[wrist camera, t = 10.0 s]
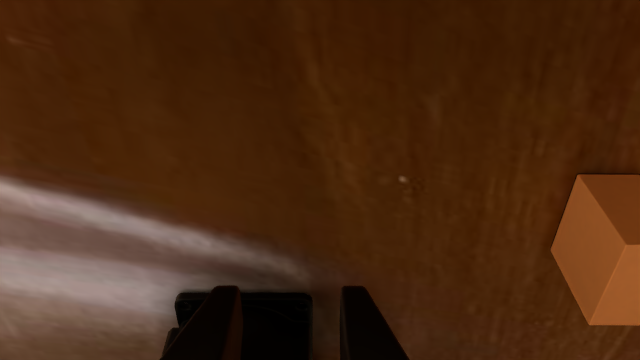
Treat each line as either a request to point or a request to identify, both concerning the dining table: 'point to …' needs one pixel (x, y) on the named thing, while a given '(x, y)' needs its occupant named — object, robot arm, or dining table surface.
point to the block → (602, 247)
